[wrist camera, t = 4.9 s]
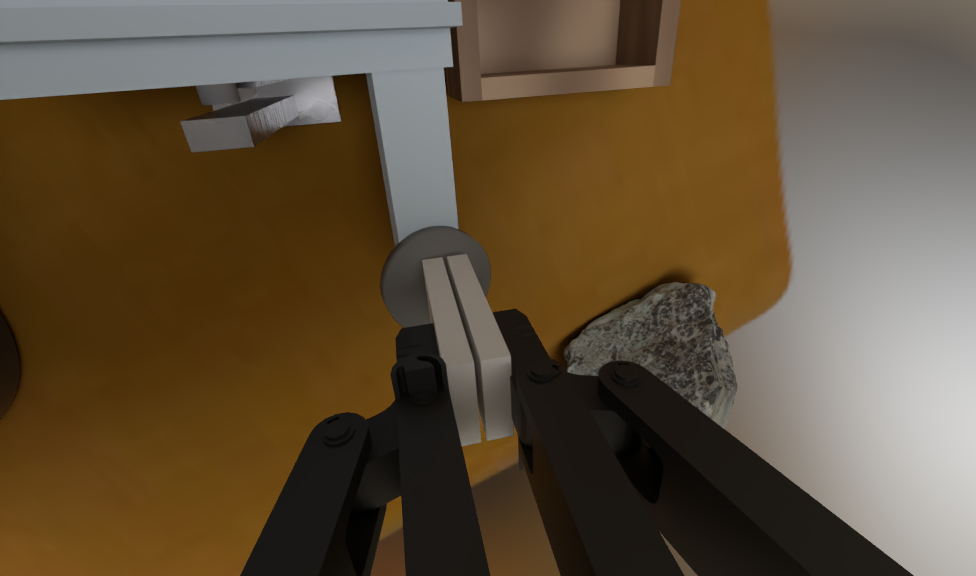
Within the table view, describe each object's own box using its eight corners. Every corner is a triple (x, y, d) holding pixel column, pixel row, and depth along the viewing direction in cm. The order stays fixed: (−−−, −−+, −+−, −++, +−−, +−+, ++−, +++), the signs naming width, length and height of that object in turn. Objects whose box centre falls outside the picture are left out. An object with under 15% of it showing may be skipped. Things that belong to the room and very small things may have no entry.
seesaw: (82, 420, 15) (50, 489, 12) (-577, -560, 6) (-1123, -980, 4) (478, 302, 20) (510, 333, 18) (433, -297, 11) (483, -394, 9)
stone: (713, 390, 19) (703, 529, 24) (758, 280, 25) (743, 407, 30) (527, 339, 25) (549, 459, 29) (602, 260, 31) (611, 369, 36)
